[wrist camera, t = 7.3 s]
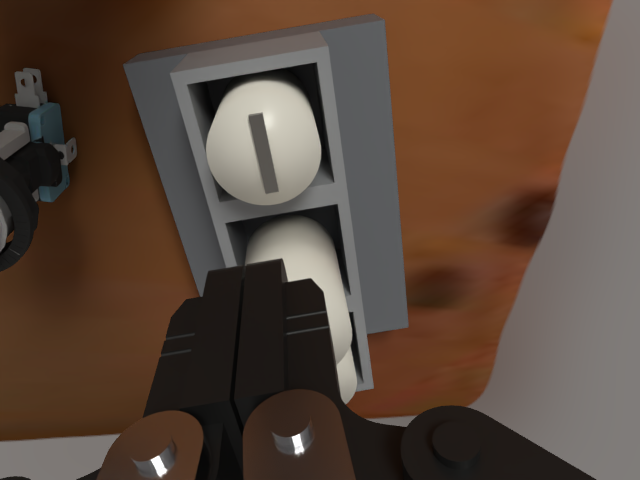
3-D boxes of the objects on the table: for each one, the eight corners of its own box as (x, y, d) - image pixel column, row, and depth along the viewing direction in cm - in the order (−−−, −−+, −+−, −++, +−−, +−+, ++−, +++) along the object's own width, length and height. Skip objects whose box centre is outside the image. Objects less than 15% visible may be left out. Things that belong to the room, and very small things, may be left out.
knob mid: (237, 223, 22) (225, 306, 17) (328, 207, 22) (345, 285, 17) (256, 297, 25) (251, 392, 19) (340, 283, 25) (358, 374, 19)
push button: (-19, 60, 25) (-179, 114, 16) (93, 72, 25) (-1, 131, 17) (4, 184, 28) (-119, 285, 19) (103, 192, 29) (28, 293, 20)
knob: (211, 72, 22) (191, 108, 17) (303, 56, 22) (311, 87, 17) (233, 159, 25) (221, 215, 19) (317, 145, 25) (329, 197, 19)
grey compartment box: (138, 53, 25) (90, 86, 19) (373, 13, 25) (407, 32, 19) (224, 328, 34) (213, 415, 27) (398, 298, 34) (427, 379, 27)
